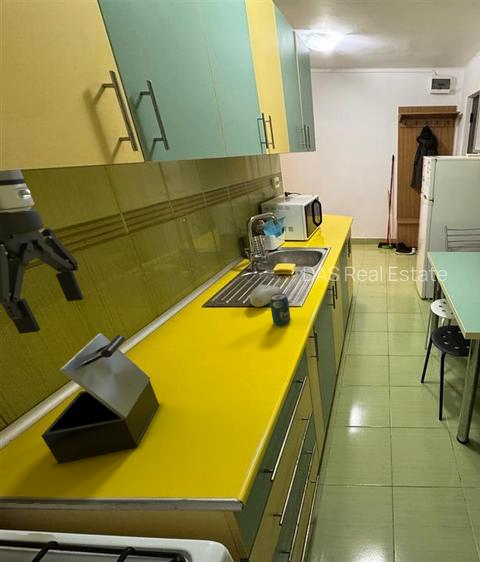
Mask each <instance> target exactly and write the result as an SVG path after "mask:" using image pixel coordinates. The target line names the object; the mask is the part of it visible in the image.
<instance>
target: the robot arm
mask: <svg viewBox="0 0 480 562" xmlns="http://www.w3.org/2000/svg"><path fill="white" fill-rule="evenodd" d="M34 205H35V201H34V199H33V197H32V193H31V191H30V190H29V188H28V185H27V182H26V180H25V178H24V176H23V173H22V171H21V169H20V170H7V171H0V305H1V306H2V308H3V309H4V311H5V313H6V315H7V317H8V319H9V320H11V321H12V322H13V324H14V326H15V329H16V330H17V331H18V334H20V335H21V334H28V333H38V332H40V331H41V330H42V329H41V327H40V326H39V323H38V321H37V319H36V317H35V316H34V313H33V312H32V310H31V307H30V306H29V303H28V301H27V299H26V298H21V293H22V288H23V281H24V276H25V269H26V267H28V266H29V265H30V262H32V261H33V260H35V259H38V260H40V261H41V262H42V263H44V264H46V265H48V266H49V267H50V268H52V269H53V270H55V271H56V272H57V273H55V277H56V280H57V281H58V283H59V285H60V288H61V290H62V292H63V295H64V297H65V300H66V302H75V301H76V302H77V301H83V300H84V299H85V298H84V296H83V294H82V291H81V288H80V285H79V283H78V281H77V278H76V276H75V273H74V272H77V271H79V266H78V265H79V262H78V260H77V259H76V258H75V257H74V255H73V254H72V253H71V252H70V251H69V250H68V249H67V248H66V247H65V245H64V244H63V243H62V242H61V241H60V239H59V238H58V237H57V235H56V233H55V232H54V230H53V229H52V228H50V227H49V228H44V227H45V224H44V221H43V219H42V217H41V214H40V212H39V210H38V209H36V208H34Z"/></svg>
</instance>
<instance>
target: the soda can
mask: <svg viewBox="0 0 480 562" xmlns="http://www.w3.org/2000/svg"><path fill="white" fill-rule="evenodd" d="M269 306H270V312H271V318H272V322H273V324H274V325H275V326H276V327H285V326H287V325H289V324H290V322H291V319H292V318H291V313H290V304H289V298H288V297H287V294H285V293H282V292H279V294H275V295H272V296H271V300H270V303H269Z"/></svg>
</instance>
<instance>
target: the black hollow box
mask: <svg viewBox="0 0 480 562" xmlns="http://www.w3.org/2000/svg"><path fill="white" fill-rule="evenodd" d="M159 407H160V403H159V400H158V398H157V395H156V393H155V390H154V387H153V385H152V382H151V379H150V380H149V381H148V383H147V385H146V386H145V388H144V389H143V391H142V393H141V394H140V396H139V397H138V399H137V401H136V402H135V404H134V406H133V407H132V409H131V410H130V412H129V414H128V415H127V417H126V418H124V419H122V418H120V417H119V416H118V415H116V414H115V413H114V412H113V411H111V410H110V409H109V408H107V407H106V406H105V405H104V404H102V403H101V402H100V401H98V400H97V399H96V398H95V397H93V396H92V395H91V394H89V393H88V392H87V391H86V390H81V391H79V392H78V394H77V395H76V396H74V398H73V399H72V400H71V401H70V403H69V404H68V405H67V406H66V407H65V408H64V409H63V410H62V412H61V413H60V414H59V415H58V416H57V417H56V418H55V419H54V420H53V422H52V423H51V424H50V425H49V427H48V428H47V429H45V430H44V432H43V433H42V434H40V435H41V438H42V440H43V441H44V443H45V445H46V446H47V448H48V449H49V451H50V453H51V454H52V456H53V458H54V459H55V461H56V462H57V464H64V463H69V462H75V461H79V460H84V459H88V458H93V457H99V456H104V455H108V454H112V453H118V452H123V451H128V450H133V449H137V448H138V447H139V446H140V444H141V442H142V440H143V438H144V436H145V434H146V432H147V430H148V428H149V426H150V424H151V423H152V421H153V418H154V417H155V415H156V413H157V411H158V409H159Z"/></svg>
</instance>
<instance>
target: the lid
mask: <svg viewBox="0 0 480 562" xmlns="http://www.w3.org/2000/svg"><path fill="white" fill-rule="evenodd" d="M125 341H126V337H125V336H123V335H121V334H119V335H116V336H115V337H114V338H113V339H112V340H110V339H108V338H107V337H106V336H105V335H104V334H103V333H101V332H100V333H97V334H96V335H95V336H94V337H92V339H91V340H90V341H89V342H87V344H86V345H84V346H83V347H82V348H81V349H80V350H79V351H78V352H77V353H76V354H75V355H74V356H73V357H72V358H70V360H68V361H67V362H66V363H65V364H64V365H63V366H62V367H61V368H60V369H59V371H60V372H61V373H62V374H64V375H65V376H67V377H68V378H69V379H70V380H71V381H73V382H74V383H75V384H76V385H78V386H79V387H80V388H81V389H82V390H83V391H87V392H88V393H89V394H91V395H92V396H93V397H95V398H96V399H97V400H98V401H100V402H101V403H102V404H104V405H105V406H106V407H107V408H109V409H110V410H111V411H113V412H114V413H115V414H116V415H118V416H119V417H120V418H122V419H124V418H126V417H127V415H128V414H129V412H130V410H131V409H132V407H133V406H134V404H135V402H136V401H137V399H138V397H139V396H140V394H141V393H142V391H143V389H144V388H145V386H146V385H147V383H148V381H149V380H150V381H151V377H150V376H149V375H148V374H146V372H144V371H143V370H142V369H141V368H140V367H139V366H138V365H137V364H136V363H135V362H133V360H132V359H130V358H129V357H128V356H127V355H126V354H124V353H123V351H122V350H121V349H119V348H120V347H121V346H122V345H123V343H124V342H125Z"/></svg>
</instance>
